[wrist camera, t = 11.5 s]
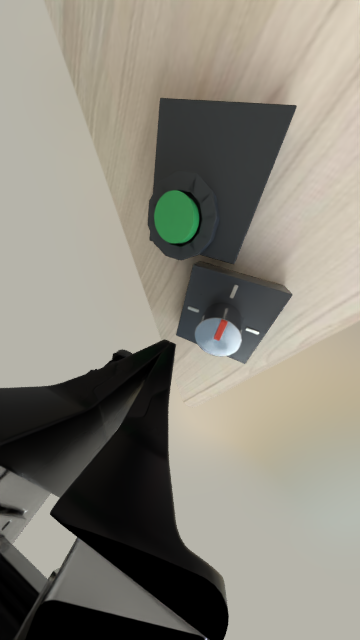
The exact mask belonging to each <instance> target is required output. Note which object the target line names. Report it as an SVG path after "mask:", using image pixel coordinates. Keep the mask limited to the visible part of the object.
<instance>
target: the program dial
mask: <svg viewBox="0 0 360 640" xmlns="http://www.w3.org/2000/svg"><path fill="white" fill-rule="evenodd" d="M195 340H196V342H197V344H198V345H199V347H200V348H201V349H202V350H204V351H205V352H207V353H209V354H211V355H214V356H228V355H231V354H233V353H234V352H236V351H237V350H238V349H239V347H240V345H241V341H242V317H241V314H240V312H239V310H238V309H237V308H236V307H234V306H233V305H231V304H229V303H224V302H219V303H215V304H212V305H210V306H209V307H208V308H207V309H206V310H205V312H204V314H203V316H202V318H201V320H200V322H199V324H198V325H197V327H196V330H195Z"/></svg>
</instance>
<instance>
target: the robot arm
mask: <svg viewBox="0 0 360 640" xmlns="http://www.w3.org/2000/svg"><path fill="white" fill-rule="evenodd" d="M175 348H176V344H174V343H172V342H170V341H167V340H162V341H160V342H158V343H156V344H154V345H151V346H149V347H147V348H145V349H143V350H140V351H138V352H136V353H134V354H132V355H130V356H128V357H122V356H120V355H118V354H116V353H113V359H112V360H111V361H109V362H108V363H107V364H106V365H105V366H104V367H103V368H101V369H98V370H97V369H95V370H90V372H88V373H87V374H85V375H82V376H80V377H77V378H74V379H71V380H68V381H66V382H63V383H60V384H56V385H51V386H42V387H19V388H0V640H223V639H224V637H225V634H226V631H227V627H228V617H229V616H228V608H227V600H226V592H225V584H224V580H223V577H222V576H221V575H220V574H219V573H218V572H217V571H216V570H215V569H214V568H213V567H212V566H210V565H209V564H208V563H207V562H205V561H204V560H203V559H201V558H200V557H198V556H197V555H196V554H194V553H193V552H192V551H190V550H189V549H188V548H187V547H186V546H185V545H184V543H183V541H182V539H181V538H180V535H179V532H178V529H177V525H176V520H175V511H174V502H173V493H172V484H171V476H170V467H169V452H168V406H169V405H168V404H169V394H170V386H171V379H172V371H173V363H174V356H175ZM120 424H121V425H120ZM118 427H119V428H118ZM116 430H117V431H116ZM115 431H116V432H115ZM51 493H52V494H54V495H56V496H58V497H60V499H59V500H58V501H57V503H56V504H55V506H54V507H53V509H52V510H51V512H50V515H51V516H52V517H54V519H56V520H57V521H58V522H59V523H60V524H61V525H63V526H64V527H65V528H67V529H68V530H69V531H71V532H72V533H73V534H74V535H76V536H77V539H76V541H75V542H74V544H73V546H72V547H71V549H70V551H69V553H68V555H67V556H66V558H65V560H64V562H63V564H62V566H61V567H60V568H58V569H56V570H55V571H53V572H52V574H51V576H50V577H49V579H47V578H46V577H45V576H44V575H43V574H41V572H40V571H39V570H38V569H36V567H35V566H34V565H33V564H32V563H30V562H29V561H28V559H26V558H25V557H24V556H23V555H22V554H21V553H20V552H19V551H18V550H17V549H16V548H15V547H14V546H13V545H12V544H13V543H14V541H15V540H16V539H17V537H18V536H19V535H20V533H21V532H22V531H23V529H24V528H25V527H26V525H27V524H28V523H29V521H30V520H31V519H32V517H33V516H34V515H35V513H36V512H37V511H38V510H39V508H40V507H41V506H42V504H43V503H44V502H45V500H46V499H47V498H48V496H49V495H50V494H51Z"/></svg>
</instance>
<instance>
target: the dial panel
mask: <svg viewBox="0 0 360 640" xmlns="http://www.w3.org/2000/svg"><path fill="white" fill-rule="evenodd" d="M291 297H292V293H291V292H290V291H289V290H288V289H287V288H286V287H285V286H283V285H279V284H276V283H272V282H269V281H266V280H262V279H259V278H255V277H252V276H248V275H245V274H242V273H238V272H235V271H231V270H228V269H225V268H221V267H218V266H214V265H211V264H207V263H204V262H201V261H200V262H198V263H196V264H194V265H193V268H192V272H191V276H190V280H189V284H188V288H187V292H186V296H185V301H184V305H183V309H182V313H181V317H180V321H179V325H178V329H177V333H176V335H177V336H179V337H182V338H184V339H187V340H189V341H191V342H194V343H196V344H197V342H196V340H195V330H196V327H197V325H198V324H199V322H200V320H201V318H202V316H203V314H204V312H205V310H206V309H207V308H208V307H209V306H210V305H212V304H215V303H219V302H224V303H229V304H231V305H233V306H234V307H236V308H237V309H238V310H239V312H240V314H241V317H242V341H241V345H240V347H239V349H238V350H237V351H236V352H234V353H233V354H231V355H228V356H227V357H230V358H232V359H235V360H237V361H239V362H242V363H244V364H245V363H246V362H247V360H248V359H249V357H250V356H251V354H252V353H253V351H254V350H255V349H256V347H257V346H258V344H259V343H260V341H261V340H262V338H263V337H264V336H265V334H266V333H267V331H268V330H269V328H270V327H271V325H272V324H273V323H274V321H275V320H276V318H277V317H278V315H279V314H280V312H281V311H282V310H283V308H284V307H285V305H286V304H287V302H288V301H289V299H290V298H291Z"/></svg>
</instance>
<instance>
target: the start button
mask: <svg viewBox="0 0 360 640" xmlns="http://www.w3.org/2000/svg"><path fill="white" fill-rule="evenodd" d="M154 220H155V226H156V229H157V231H158V233H159V235H160V236H161V237H162V238H163V239H164V240H165V241H167V242H169V243H184V242H187V241H189V240H190V239H191V238H192V237H193V236H194V235H195V233H196V231H197V229H198V226H199V211H198V208H197V206H196V204H195V202H194V201H193V200H192V199H191V198H189V197H188V196H187V195H186V194H184V193H183V192H181V191H178V190H172V191H169V192H167V193H165V194H164V195H163V196H162V197H161V198H160V199H159V201H158V203H157V205H156V208H155V214H154Z"/></svg>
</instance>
